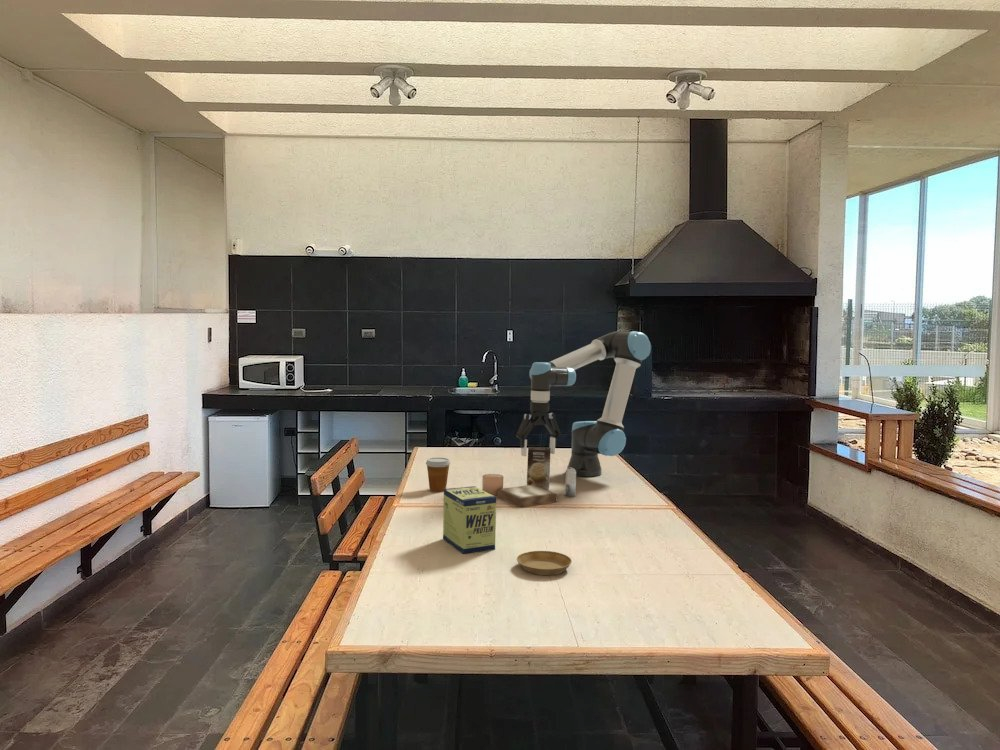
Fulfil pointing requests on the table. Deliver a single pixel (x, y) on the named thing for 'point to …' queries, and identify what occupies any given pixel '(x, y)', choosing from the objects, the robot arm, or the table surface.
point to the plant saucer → (544, 562)
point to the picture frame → (526, 495)
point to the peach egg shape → (492, 483)
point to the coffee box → (538, 467)
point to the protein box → (469, 519)
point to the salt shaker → (570, 482)
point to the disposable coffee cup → (437, 473)
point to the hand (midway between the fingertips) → (538, 454)
